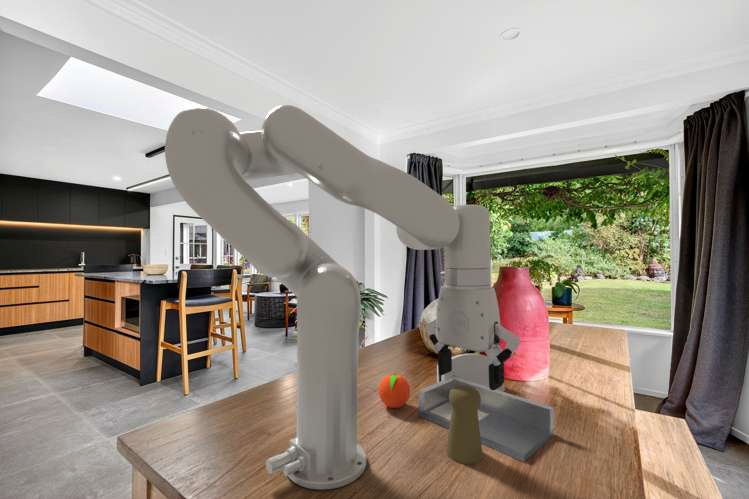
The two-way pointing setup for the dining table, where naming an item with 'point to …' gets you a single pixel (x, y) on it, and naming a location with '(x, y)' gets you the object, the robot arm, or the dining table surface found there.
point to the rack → (494, 417)
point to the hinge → (470, 369)
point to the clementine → (394, 391)
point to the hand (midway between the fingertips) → (469, 379)
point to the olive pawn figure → (464, 426)
